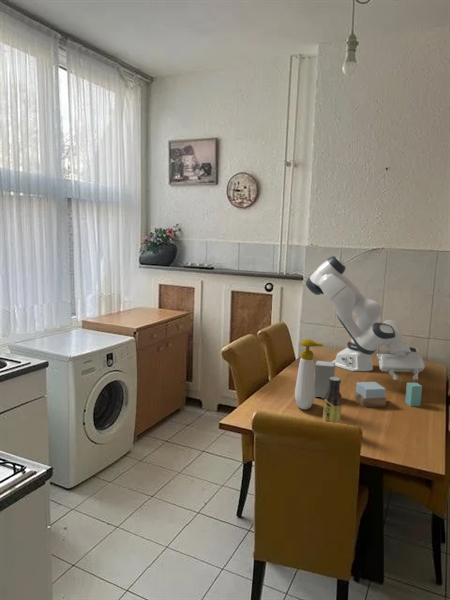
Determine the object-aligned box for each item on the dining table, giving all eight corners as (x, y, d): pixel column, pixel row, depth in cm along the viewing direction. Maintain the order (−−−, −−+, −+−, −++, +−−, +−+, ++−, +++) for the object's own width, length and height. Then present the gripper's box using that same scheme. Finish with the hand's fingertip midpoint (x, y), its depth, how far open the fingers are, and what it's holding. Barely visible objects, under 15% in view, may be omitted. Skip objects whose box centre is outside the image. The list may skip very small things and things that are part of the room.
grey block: (355, 391, 194) (356, 382, 194) (374, 390, 196) (375, 381, 195) (365, 398, 185) (366, 389, 185) (385, 397, 187) (385, 388, 186)
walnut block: (353, 398, 196) (354, 390, 195) (375, 398, 197) (375, 390, 196) (363, 407, 186) (363, 398, 185) (385, 407, 187) (386, 398, 186)
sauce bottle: (319, 425, 166) (323, 375, 163) (335, 425, 166) (339, 375, 163) (325, 433, 159) (328, 380, 156) (341, 433, 160) (345, 381, 157)
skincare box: (333, 395, 198) (336, 361, 195) (332, 400, 191) (334, 366, 189) (314, 392, 201) (317, 359, 198) (312, 398, 194) (315, 363, 191)
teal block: (404, 402, 192) (406, 382, 191) (414, 402, 193) (416, 382, 192) (410, 406, 188) (412, 386, 187) (420, 406, 188) (422, 386, 187)
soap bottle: (319, 414, 176) (324, 344, 172) (293, 411, 178) (297, 342, 174) (318, 402, 189) (323, 336, 184) (294, 400, 191) (298, 335, 186)
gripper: (378, 348, 198) (386, 376, 190) (421, 349, 201) (430, 376, 192) (373, 355, 204) (380, 382, 195) (415, 355, 206) (424, 382, 197)
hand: (406, 379), depth 194 cm, fingers open, 8 cm apart
